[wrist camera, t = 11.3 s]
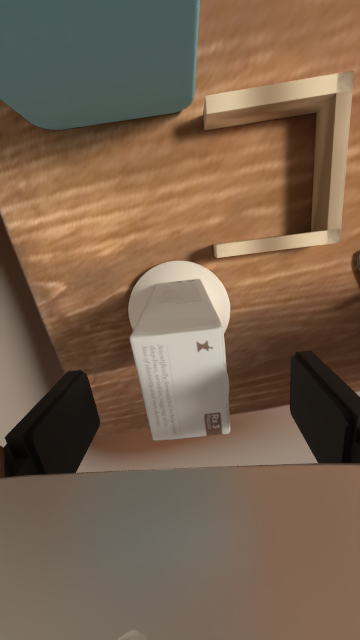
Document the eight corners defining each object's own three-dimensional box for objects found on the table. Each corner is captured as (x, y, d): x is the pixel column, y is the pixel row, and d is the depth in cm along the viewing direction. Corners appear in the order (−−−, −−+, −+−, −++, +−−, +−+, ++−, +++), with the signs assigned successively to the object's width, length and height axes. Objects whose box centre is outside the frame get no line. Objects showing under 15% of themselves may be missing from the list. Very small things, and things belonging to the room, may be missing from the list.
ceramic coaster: (225, 253, 21) (226, 254, 20) (231, 350, 24) (232, 353, 23) (121, 267, 22) (119, 268, 21) (139, 359, 25) (138, 363, 24)
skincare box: (154, 283, 21) (117, 332, 10) (203, 276, 21) (224, 320, 10) (164, 344, 23) (143, 446, 12) (209, 339, 23) (233, 438, 12)
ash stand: (331, 93, 17) (354, 70, 15) (322, 242, 21) (339, 242, 18) (202, 114, 18) (205, 95, 16) (213, 255, 21) (217, 257, 19)
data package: (187, 33, 17) (193, -417, 5) (193, 111, 18) (208, -110, 7) (24, 60, 17) (-284, -286, 6) (43, 133, 19) (-179, -32, 7)
